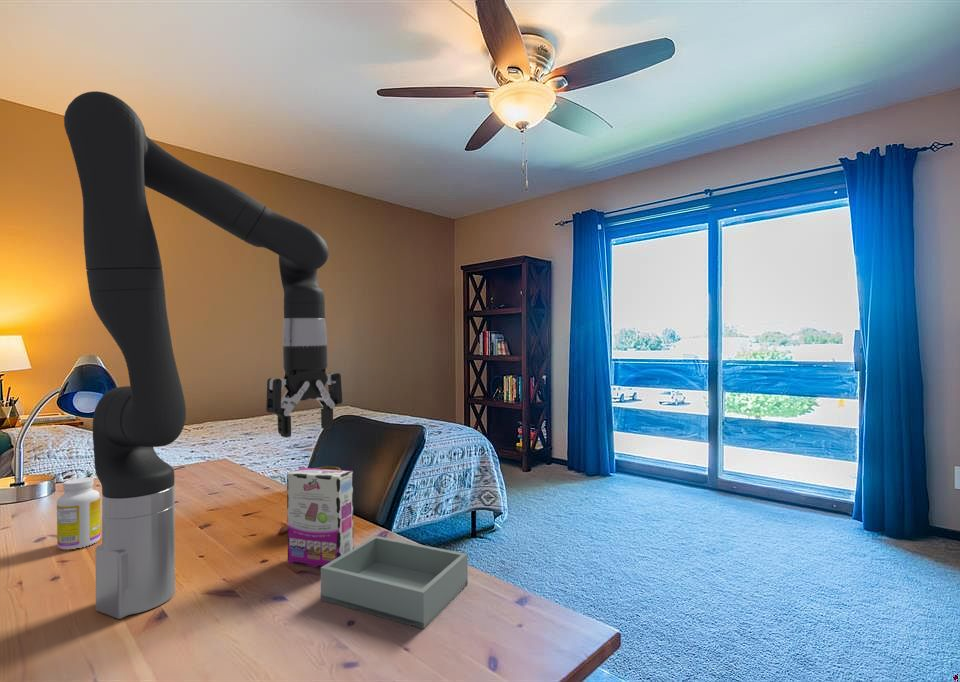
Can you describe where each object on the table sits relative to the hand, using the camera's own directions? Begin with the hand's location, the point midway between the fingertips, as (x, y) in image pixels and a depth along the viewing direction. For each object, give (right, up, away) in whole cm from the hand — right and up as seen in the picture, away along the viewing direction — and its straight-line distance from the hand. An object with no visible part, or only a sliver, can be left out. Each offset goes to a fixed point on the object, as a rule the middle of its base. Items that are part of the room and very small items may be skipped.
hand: (307, 432), depth 88 cm
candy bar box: (+2, -24, 0) cm, 24 cm away
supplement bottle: (-49, -24, +9) cm, 55 cm away
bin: (+18, -23, -11) cm, 32 cm away
